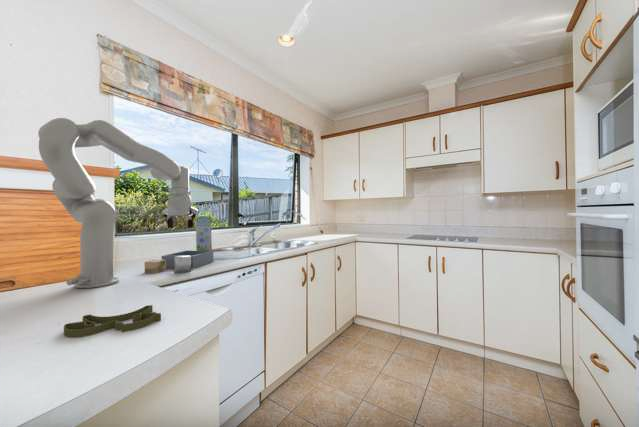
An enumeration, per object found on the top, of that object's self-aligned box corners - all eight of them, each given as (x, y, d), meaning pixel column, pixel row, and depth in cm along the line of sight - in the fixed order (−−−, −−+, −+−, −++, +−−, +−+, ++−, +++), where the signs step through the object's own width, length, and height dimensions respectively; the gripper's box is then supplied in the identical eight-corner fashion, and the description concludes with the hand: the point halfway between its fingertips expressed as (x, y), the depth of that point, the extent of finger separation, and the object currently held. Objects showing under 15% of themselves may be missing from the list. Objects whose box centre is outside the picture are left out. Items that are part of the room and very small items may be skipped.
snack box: (195, 255, 170) (195, 215, 170) (210, 254, 174) (210, 215, 174) (195, 260, 150) (195, 215, 150) (212, 259, 154) (212, 215, 154)
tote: (193, 268, 127) (193, 256, 127) (161, 268, 128) (161, 255, 128) (213, 261, 147) (213, 250, 147) (185, 261, 148) (185, 250, 148)
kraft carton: (157, 273, 118) (157, 261, 118) (144, 273, 118) (144, 261, 118) (166, 270, 124) (166, 259, 124) (153, 270, 124) (153, 259, 124)
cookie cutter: (160, 310, 72) (160, 303, 72) (161, 326, 61) (161, 317, 61) (71, 325, 62) (71, 317, 62) (54, 347, 52) (54, 336, 52)
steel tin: (185, 273, 117) (185, 257, 117) (171, 273, 117) (171, 257, 117) (193, 270, 123) (193, 255, 123) (180, 270, 124) (180, 255, 124)
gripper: (157, 191, 123) (157, 228, 123) (194, 191, 122) (194, 228, 122) (167, 192, 130) (167, 227, 130) (201, 192, 130) (202, 227, 130)
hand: (180, 227), depth 126 cm, fingers open, 9 cm apart
